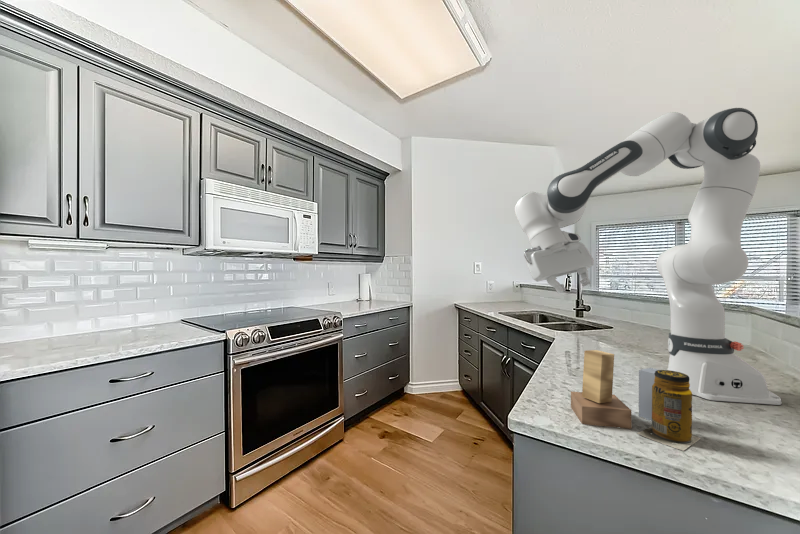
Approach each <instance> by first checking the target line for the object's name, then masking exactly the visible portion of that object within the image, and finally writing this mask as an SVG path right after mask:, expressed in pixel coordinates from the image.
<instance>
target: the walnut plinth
mask: <svg viewBox="0 0 800 534" xmlns="http://www.w3.org/2000/svg"><path fill="white" fill-rule="evenodd" d="M570 409H571V410H572V411H573V413H574V415H575V416H576V418H577V419H578V420H579V421H580V424H582V425H588V426H598V427H608V428H617V427H620V428H621V429H629V430H630V429H631V430H632V427H633V426H632V409H631V408H629V407H628V406H627V405H626V404H625V403H624V402H623V401H622V400H621V399H620V398H618V396H617V395H616V394H612V402H606V403H597V402H594V401H592V400H589V399H587V398H584V397H582V391H570ZM620 428H619V429H620Z"/></svg>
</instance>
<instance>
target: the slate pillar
mask: <svg viewBox="0 0 800 534" xmlns="http://www.w3.org/2000/svg"><path fill="white" fill-rule="evenodd" d="M657 370H658V369H657V368H653V367H649V368H642V369H638V417H640V418H642V417H643V418H642V419H645V418H646V419H645V420H647V421H650V420H651V421H650V422H652V385H653V384H654V379H655V374H654V373H655V371H657Z"/></svg>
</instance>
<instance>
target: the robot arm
mask: <svg viewBox="0 0 800 534" xmlns="http://www.w3.org/2000/svg"><path fill="white" fill-rule="evenodd" d="M758 131H759V125H758V120H757V118H756V116H755V114H754V113H753V112H752V111H751V110H749V109H747V108H743V107H734V108H732V107H731V108H728V109H724V110H721V111H718V112H716V113H714V114H713V115H711V116H710V117H707V118H705V119H703V120H702V121H700V122H698V123H695V122H691V120H690V119H689V117H687V116H686V115H685V114H683V113H680V112H676V111H675V112H674V111H672V112H671V111H670V112H667V113H664V114H662V115H660V116H658V117H656V118H654V119H653V120H651V121H649V122H647V123H645V124H644V125H642V126H641V127H639V128H638V129H637V130H636V131H634V132H633V133H631V134H630V135H628V136H626V138H625V139H623V140H622V141H620V142H619V143H618V144H615V145H613V146H612V147H611V148H608V150H606V151H604V152H602V153H601V154H600V155H598V156H597V157H595V158H593V159H592V160H590V161H589V162H587V163H585V164H584V165H582V166H581V167H578V168H576V169H573V170H571V171H567V172H564V173H562V174H559V175H558V176H556V177H555V178H553V179H552V180H551V182H550V183H549V185H548V187H547V192H546V193H544V192H540V193H539V192H535V191H530V192H527V193H525V194H524V195H522V196H521V197H520V198H519V199H518V200H517V202H516V204H515V205H514V214H515V218H516V219H517V222H518V224H519V227H520V228H521V229H522V231H523V232H524V234H526V235H527V237H528V243H529V244H530V246H531V248H527V249H525V251H524V253H523V257H524V259H525V261H526V266H527V269H528V271H529V274H530V276H531V278H532V279H533V280H534V281H535V282H543V281H546V282H547V284H549V286H551V287H552V288H553V289H555V291H556V293H557V294H562V293H564V292H565V291H566V290H567V289H566V287H565V285H564V284H563V283H562V284H561V283H560V282H559V281H558V280H557V279H558V278H559V277H561V276H566V275H571V274H574V273H577V274H578V276H580V279H581V280H579V283H580V284H581V286H583V287H587V286H589V285H591V280H590V278H589V270H588V269H589V268H591V267H592V266H594V265H595V264H594V258H593V257H592V254H591V253H590V251H589V250H588V248H587V247H586V245H585V244H584V243H582V242H581V240H582V239H581V236H580V235H579V234H577V233H572V232H569V231H565V230H562V228H565V227H568V226H569V227H570V226H572V225H574V224H576V223H577V222H579V221H580V220H581V218H582V217H583V215H584V213H585V209H586V207H587V206H586V205H587V203H588V201H589V199H590V196H591V195H592V193H593V191H594V190H595V189H596V188H597V187H599V186H600V185H602V184H603V183H605V182H606V181H608V180H610V179H611V178H612V177H614V176H615V175H617V174H619V173H621V174H623V175H625V176H629V177H640V176H641V175H644V174H646V173H648V172H650V171H651V170H653V169H655V168H656V167H658V166H659V165H661V163H663V162H664V161H665V160H667V159H668V160H669V161H670V163H672V165H674V166H675V167H677V168H679V169H685V170H688V169H689V170H690V169H697V168H699V167H700V168H701V167H703V180H702V182H701V183H700V186H699V188H698V191H697V193H696V196H695V198H694V200H693V204H692V206H691V209H690V211H689V213H688V216H687V220H688V222H689V224H690V237H689V240H688V242H687V243H686V244H679V245H678V244H677V245H675V246H672V247H670V248H668V249H665V250H664V251H662V252H661V253H660V254H659V255H658V257H657V258H656V263H655V266H656V270H657V272H658V273H659V274H660V276H661V277H662V280H663V283H664V285H665V286H664V287H665V289H666V293H667V297H668V302H669V309H670V310H669V312H670V313H669V314H670V315H669V316H670V332H669V333H668V339H667V350H668V354H669V359H668V365H667V369H666V370H671V371H676V372H680V373H684V374H686V375H688V376H689V379H690V380H689V383H690V387H689V389H690V390H691V392H692V396H693V395H694V396H697V397H699V398H703V399H706V400H709V401H717V402H731V403H746V404H760V405H761V404H762V405H777V406H780V405H782V399H781V397H780V396H778V395H777V394H776V393H774V392H772V391H770V390H769V389H768V384H767V381H766V378H765V376H764V374H763V373H762V372H761V371H760V370H759V369H757V368H755V367H754V366H752V365H751V364H750V363H748V362H747V361H745V360H744V359H742V358H741V357H740V356H739V355H737V354H736V353H734V352H735V351H737V352H739V351H742V350H744V349H745V347H744V344H742V343H741V342H738V341H732V340H730V339H728V338H726V337H725V336H726V335H725V334H726V333H725V332H726V331H725V329H726V328H725V327H726V326H725V325H726V322H725V320H726V318H725V313H726V312H725V307H724V306H723V304H722V303H721V302H720V301H719V299H718V298H717V295H716V294H715V290H714V289H713V286H714V285H721V284H726V283H729V282H733V281H736V280H738V279H741V277H742V276H744V274H745V273H747V272H746V271H747V269H748V268H749V258H748V255H747V253H746V251H745V250H744V249H743V248H742V244H741V238H742V237H741V236H742V227H743V223H744V220H745V218H746V215H747V213H748V210H749V208H750V205H751V202H752V200H753V196H754V195H755V193H756V188H757V185H758V181H759V178H760V172H761V162H760V159H759V158H758V157H757V156H755V155H754V154H752V153H751V152H752V151H753V150H754V148H755V147H756V145H757V141H756V140H757V139H756V138H757V137H758V133H759V132H758Z"/></svg>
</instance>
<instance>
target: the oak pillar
mask: <svg viewBox="0 0 800 534" xmlns="http://www.w3.org/2000/svg"><path fill="white" fill-rule="evenodd" d="M614 362H615V354H614V353H611V352H607V351H602V350H598V349H592V350H591V349H589V350H588V349H587V350H584V353H583V368H582V369H583V371H582V372H583V374H582V391H581V392H582V397H584V398H587V399H589V400H592V401H594V402H597V403H606V402H612V395H613V386H614V384H613V383H614V369H615V368H614V367H615V366H614V365H615V363H614Z"/></svg>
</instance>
